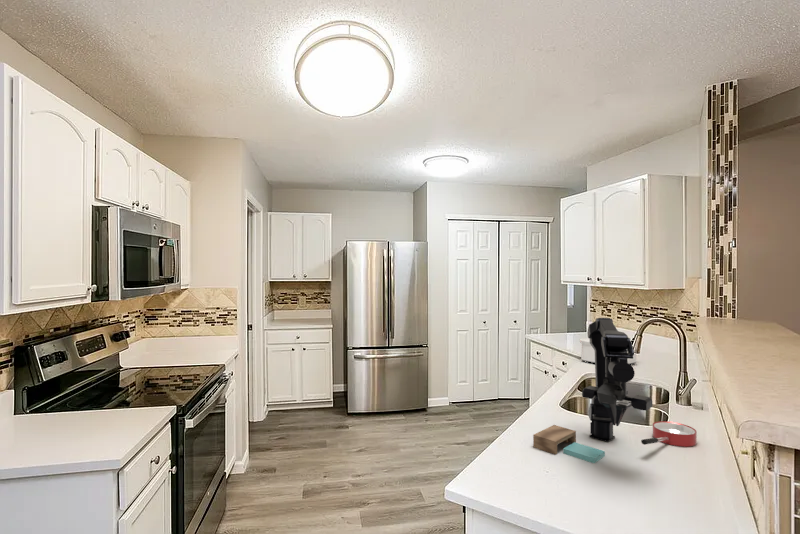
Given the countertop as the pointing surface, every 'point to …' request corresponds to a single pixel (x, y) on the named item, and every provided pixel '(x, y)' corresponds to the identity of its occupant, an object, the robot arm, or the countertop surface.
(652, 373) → the countertop surface
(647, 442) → the frying pan
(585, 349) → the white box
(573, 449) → the teal rectangular slab
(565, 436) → the overhang
